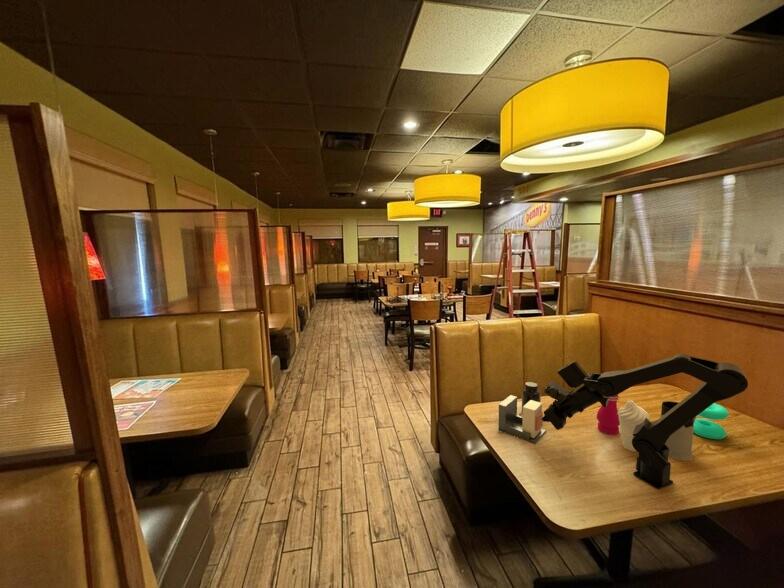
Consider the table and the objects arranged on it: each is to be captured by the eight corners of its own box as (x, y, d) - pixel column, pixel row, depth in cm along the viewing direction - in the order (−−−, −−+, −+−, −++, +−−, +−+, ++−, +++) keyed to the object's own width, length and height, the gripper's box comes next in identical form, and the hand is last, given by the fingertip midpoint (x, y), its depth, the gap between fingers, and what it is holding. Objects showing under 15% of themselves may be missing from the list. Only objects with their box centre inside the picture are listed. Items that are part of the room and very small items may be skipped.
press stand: (545, 432, 112) (546, 405, 111) (535, 444, 105) (536, 416, 104) (510, 419, 121) (510, 395, 120) (498, 430, 114) (498, 404, 113)
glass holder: (649, 447, 102) (652, 403, 100) (676, 437, 107) (679, 395, 105) (682, 463, 94) (686, 416, 92) (709, 451, 99) (714, 406, 97)
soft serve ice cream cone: (645, 444, 103) (648, 398, 101) (650, 459, 96) (653, 409, 94) (614, 437, 108) (616, 393, 106) (616, 451, 100) (619, 403, 99)
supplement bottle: (521, 407, 130) (521, 380, 129) (539, 410, 128) (540, 381, 127) (521, 415, 124) (522, 386, 123) (540, 418, 122) (541, 388, 120)
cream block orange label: (543, 430, 111) (544, 403, 110) (535, 439, 106) (536, 411, 105) (530, 425, 114) (530, 399, 113) (522, 433, 110) (522, 406, 108)
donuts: (734, 407, 106) (721, 415, 101) (731, 435, 107) (719, 444, 102) (695, 396, 115) (682, 403, 110) (692, 422, 116) (680, 429, 111)
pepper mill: (624, 436, 108) (628, 381, 106) (601, 435, 109) (604, 380, 107) (614, 425, 115) (617, 373, 113) (592, 424, 116) (595, 372, 114)
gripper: (570, 369, 108) (536, 390, 117) (552, 385, 95) (515, 408, 104) (595, 397, 104) (558, 417, 113) (580, 419, 91) (539, 440, 100)
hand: (542, 419), depth 108 cm, fingers closed
